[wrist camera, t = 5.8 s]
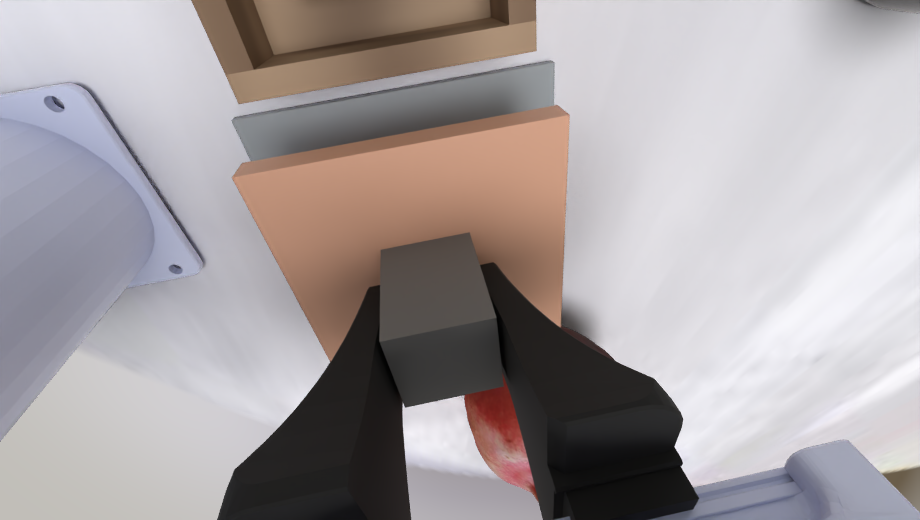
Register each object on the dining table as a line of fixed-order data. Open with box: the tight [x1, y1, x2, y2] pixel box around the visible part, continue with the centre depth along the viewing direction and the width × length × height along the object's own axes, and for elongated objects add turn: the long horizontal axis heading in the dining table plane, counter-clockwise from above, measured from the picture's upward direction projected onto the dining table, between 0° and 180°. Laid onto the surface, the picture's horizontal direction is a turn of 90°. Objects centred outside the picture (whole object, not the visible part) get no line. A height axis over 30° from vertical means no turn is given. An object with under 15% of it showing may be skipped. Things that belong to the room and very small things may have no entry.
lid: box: [232, 105, 570, 407], centre depth 13 cm, size 10×10×5 cm
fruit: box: [464, 322, 615, 502], centre depth 21 cm, size 9×10×10 cm
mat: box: [232, 61, 554, 161], centre depth 18 cm, size 12×11×1 cm
